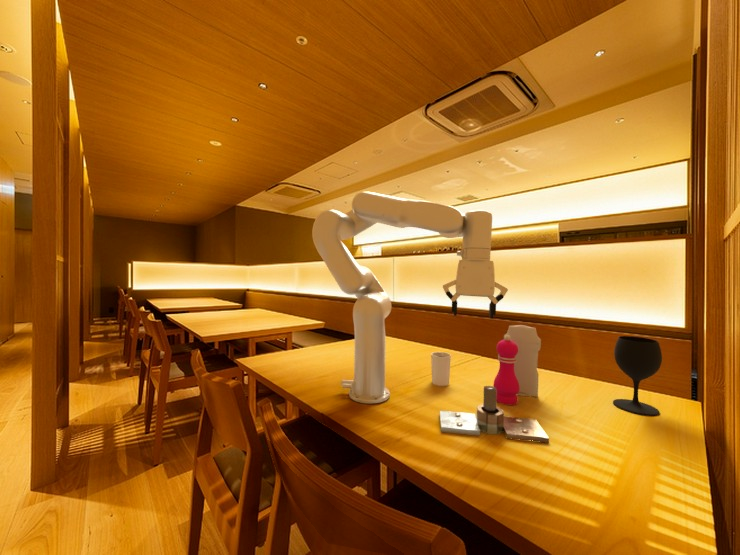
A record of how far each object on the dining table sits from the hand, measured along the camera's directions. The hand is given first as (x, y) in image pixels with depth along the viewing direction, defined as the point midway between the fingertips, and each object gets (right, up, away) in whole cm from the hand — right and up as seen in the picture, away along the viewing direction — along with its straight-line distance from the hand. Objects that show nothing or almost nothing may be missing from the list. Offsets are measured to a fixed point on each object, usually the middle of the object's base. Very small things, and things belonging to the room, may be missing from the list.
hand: (472, 316), depth 88 cm
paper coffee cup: (-5, -26, +20) cm, 33 cm away
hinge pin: (+1, -27, -10) cm, 28 cm away
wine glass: (+48, -27, +3) cm, 55 cm away
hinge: (+1, -27, -10) cm, 28 cm away
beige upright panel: (+19, -26, +12) cm, 35 cm away
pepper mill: (+12, -27, +6) cm, 30 cm away
